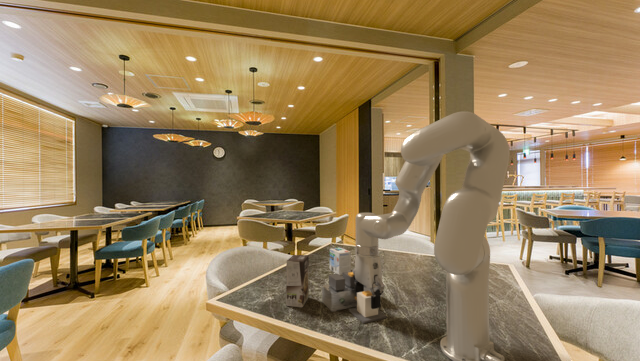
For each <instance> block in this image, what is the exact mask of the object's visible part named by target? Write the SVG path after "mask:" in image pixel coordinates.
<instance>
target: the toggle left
mask: <svg viewBox="0 0 640 361" xmlns="http://www.w3.org/2000/svg"><path fill="white" fill-rule="evenodd" d="M328 284H329V285H330V286H331V287H332V288H333V289H335V290H336V291H337V290H343V289H345V278H343V277H342V275H339V274H336V273H333V274H328Z"/></svg>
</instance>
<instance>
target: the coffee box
mask: <svg viewBox="0 0 640 361" xmlns="http://www.w3.org/2000/svg"><path fill="white" fill-rule="evenodd" d="M309 259H310V255H307V254H293V255H292V256H290V257H289V258H288V259H286V269H285V270H286V276H285V277H286V281H285V282H286V283H285V286H286V291H285V294H286V297H285V299H286V300H285V305H286V306H287V307H295V308H303V307H304V306H305V304H306V302H307V301H308V299H309V296H310V292H309V291H310V289H309V288H310V285H309V283H310V282H309V281H310V280H309V278H310V277H309V275H310V274H309V271H310V270H309V269H310V268H309V263H310V261H309Z"/></svg>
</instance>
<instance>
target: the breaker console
mask: <svg viewBox="0 0 640 361" xmlns="http://www.w3.org/2000/svg"><path fill="white" fill-rule="evenodd" d="M373 285H375V284H373ZM373 285H372V286H373ZM369 290H370V288H368V287H366V286H365V285H364V291H369ZM376 290H377V289H376V288H374V291H376ZM370 291H371V290H370ZM321 298H322V299H321V301H322V303H323V305H325V306H326V307H327V309H329V310H330V312H336V311H341V310H345V309H351V308H356V307H357V297H356V296H355V287H349V286H348V285H346V284H345V289H343V290H337V291H336V290H335V289H333V288H332V287H331V286H330V285H329V283H327V284H324V285H322V286H321Z"/></svg>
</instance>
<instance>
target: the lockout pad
mask: <svg viewBox="0 0 640 361" xmlns="http://www.w3.org/2000/svg"><path fill="white" fill-rule="evenodd" d="M348 312H349V313H350V314H352V315H353V316H354V317H355V318H356V319H357V320H359V322H361V323H362V324H367V323H372V322H375V321H380V320H384V319H387V318H388V316H387V314H385V313H384V312H383V311H381V310H380V309H378V315H373V316H369V317H364V316H363V315H362V314H360V313H359V312H358V311H357V307H351V308H348Z"/></svg>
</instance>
